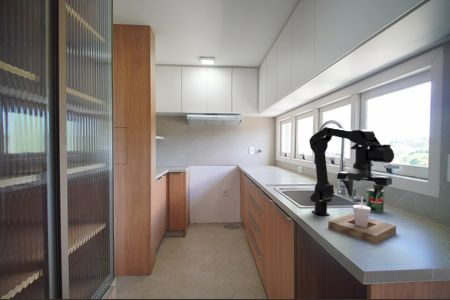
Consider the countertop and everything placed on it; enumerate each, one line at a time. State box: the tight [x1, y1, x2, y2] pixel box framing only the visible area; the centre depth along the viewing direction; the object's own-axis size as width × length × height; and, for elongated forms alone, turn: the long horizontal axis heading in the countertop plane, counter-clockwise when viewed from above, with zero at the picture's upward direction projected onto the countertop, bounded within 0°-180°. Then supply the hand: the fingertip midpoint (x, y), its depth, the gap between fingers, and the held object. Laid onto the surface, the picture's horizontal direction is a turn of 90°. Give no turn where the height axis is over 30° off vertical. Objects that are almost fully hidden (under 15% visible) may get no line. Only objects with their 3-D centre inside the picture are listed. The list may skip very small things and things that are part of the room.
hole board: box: [327, 213, 397, 245], centre depth 93 cm, size 18×18×3 cm
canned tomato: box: [365, 187, 385, 213], centre depth 121 cm, size 8×8×11 cm
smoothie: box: [352, 195, 371, 228], centre depth 93 cm, size 6×6×14 cm
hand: (362, 199), depth 93 cm, fingers open, 9 cm apart
